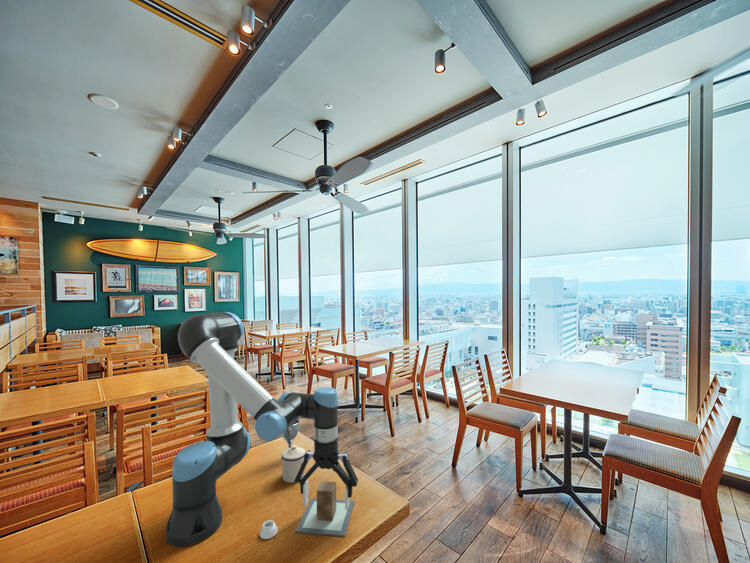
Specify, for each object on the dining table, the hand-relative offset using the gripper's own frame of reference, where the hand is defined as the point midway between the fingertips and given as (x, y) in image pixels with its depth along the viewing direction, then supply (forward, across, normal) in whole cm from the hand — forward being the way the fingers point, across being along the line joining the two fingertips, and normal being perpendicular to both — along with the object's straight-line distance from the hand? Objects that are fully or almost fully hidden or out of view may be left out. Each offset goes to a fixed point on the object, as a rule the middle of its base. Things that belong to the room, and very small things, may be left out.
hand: (326, 505), depth 101 cm
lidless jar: (+4, -15, -9) cm, 18 cm away
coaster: (+3, 0, 0) cm, 3 cm away
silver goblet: (+4, -26, +33) cm, 42 cm away
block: (+3, 0, 0) cm, 3 cm away
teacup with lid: (+4, -19, +21) cm, 29 cm away
